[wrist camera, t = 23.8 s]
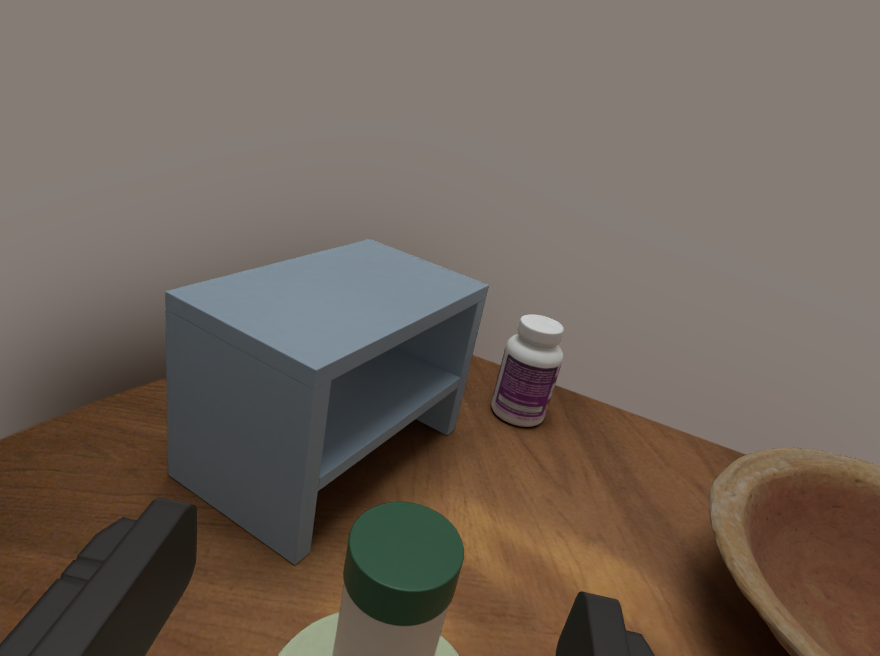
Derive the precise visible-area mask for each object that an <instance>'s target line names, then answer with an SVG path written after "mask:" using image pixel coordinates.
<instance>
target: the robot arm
mask: <svg viewBox="0 0 880 656" xmlns="http://www.w3.org/2000/svg"><path fill="white" fill-rule="evenodd" d="M196 550H197V509H196V506H195V505H192V504H188V503H184V502H179V501H175V500H170V499H166V498H162V497H158V498H156V499H155V500H153V501H152V502H151V504H150V505H149V506H148V507H147V508H146V510H145V511H144V512H143V513H142V515H141V516H140V517H139V518H138V520H133V519H128V518H124V517H123V518H121V519H119V520H118V521H116V522H115V523H113V524H111V525H110V526H108V527H107V528H105V529H103V530H102V531H100V532H99V533H97V534H96V535H95V536H94V537H93V538H92V540H91V541H90V542H89V543H88V544H87V545H86V546H85V548H84V549H83V550H82V551H81V552H80V553H79V554H78V556H77V559H76V560H73V561H72V562H71V564H70V565H69V566H68V567H67V568H66V569H65V571H64V572H63V573H62V575H61V577H60V579H57V580H56V581H55V582H54V583H53V584H52V585H51V587H50V588H49V589H48V590H47V591H46V592H45V593H44V595H43V596H42V597H41V598H40V599H39V600H38V601H37V603H36V604H35V605H34V606H33V607H32V608H31V609H30V611H29V612H28V613H27V614H26V615H25V616H24V618H23V619H22V620H21V621H20V622H19V623H18V624H17V626H16V627H15V628H14V629H13V630H12V631H11V632H10V634H9V635H8V636H7V637H6V638H5V639H4V640H3V642H2V643H1V644H0V656H145V655H146V653H147V652H148V650H149V648H150V647H151V645H152V644H153V642H154V640H155V639H156V637H157V635H158V634H159V632H160V630H161V629H162V627H163V626H164V624H165V622H166V621H167V619H168V617H169V616H170V614H171V613H172V611H173V609H174V608H175V606H176V604H177V603H178V601H179V599H180V598H181V596H182V595H183V593H184V591H185V590H186V588H187V586H188V584H189V582H190V579H191V577H192V574H193V571H194V567H195V563H196ZM556 656H655V655H654V654H653V652H652V650H651V649H650V647H649V645H648V644H647V642H646V641H645V639H644V637H643V636H642V634H639V633H635V632H630V631H626V629H625V624H624V619H623V614H622V609H621V606H620V603H619V601H618V600H617V599H613V598H608V597H604V596H599V595H595V594H591V593H586V592H582V591H581V592H579V593H578V595H577V597H576V599H575V602H574V604H573V606H572V609H571V611H570V614H569V616H568V619H567V621H566V623H565V626H564V628H563V631H562V633H561V635H560V638H559V641H558V645H557V649H556Z"/></svg>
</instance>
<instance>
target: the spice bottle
mask: <svg viewBox="0 0 880 656" xmlns="http://www.w3.org/2000/svg"><path fill="white" fill-rule="evenodd" d="M463 559H464V547H463V543H462V540H461V537H460V535H459V533H458V532H457V530H456V528H455V527H454V526H453V525H452V524H451V523H450V522H449V521H448V520H447V519H446V518H445V517H444V516H442V515H441V514H439V513H438V512H436V511H434V510H432V509H430V508H428V507H425V506H422V505H419V504H415V503H409V502H390V503H384V504H381V505H377V506H375V507H373V508H371V509H369V510H367V511H366V512H364V513H363V514H362V515H361V516H360V517H359V518H358V519H357V520H356V522H355V523H354V524H353V526H352V528H351V531H350V534H349V540H348V547H347V553H346V559H345V565H344V586H343V593H342V599H341V605H340V611H339V617H338V624H337V630H336V636H335V642H334V648H333V655H332V656H435V652H436V649H437V645H438V641H439V638H440V634H441V630H442V627H443V623H444V620H445V616H446V612H447V609H448V605H449V604H450V602H451V600H452V598H453V596H454V592H455V589H456V585H457V581H458V578H459V574H460V570H461V567H462V563H463Z"/></svg>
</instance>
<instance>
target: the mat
mask: <svg viewBox="0 0 880 656" xmlns="http://www.w3.org/2000/svg"><path fill="white" fill-rule="evenodd" d="M338 617H339V612H338V613H334V614H332V615H329V616H327V617H324V618H322V619H320V620H318V621H316V622H314V623H312V624H311V625H309V626H308V627H306V628H305V629H303V630H302V631H301V632H299V633H298V634H297V635H296V636H295V637H294V638H293V639H291V640H290V641H289V643H288V644H287V645H286V646H285V647H284V648H283V649H282V650H281V652H280V653H279V655H278V656H332V655H333V648H334V642H335V636H336V630H337V624H338ZM435 656H459V654H458V653H457V652H456V651H455V650H454V648H453V647H452V646H451V645H450V644H449V643H448V642H447V641H446V640H445V639H444V638H443V637H442V636H441V635H440V638H439V641H438V645H437V649H436V652H435Z"/></svg>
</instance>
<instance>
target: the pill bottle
mask: <svg viewBox="0 0 880 656" xmlns="http://www.w3.org/2000/svg"><path fill="white" fill-rule="evenodd" d="M563 331H564V329H563V326H562V325H561V324H560V323H558V322H557V321H555V320H553V319H551V318H548V317H544V316H541V315H533V314H531V315H525V316H523V317H522V318H521V319H520V323H519V326H518V334H516V335H514V336H512V337H511V338H510V339H509V340H508V342H507V345H506V347H505V351H504V355H503V359H502V362H501V366H500V370H499V374H498V378H497V382H496V386H495V390H494V394H493V398H492V404H491V406H492V409H493V411H494V413H495V414H496V415H497V416H498V417H500V418H501V419H502V420H504V421H506V422H508V423H510V424H513V425H517V426H522V427H532V426H536V425H538V424H540V423H541V422H542V421H543V420H544V418H545V415H546V412H547V409H548V405H549V402H550V399H551V396H552V393H553V390H554V387H555V383H556V380H557V376H558V374H559V370H560V367H561V364H562V360H563V353H562V350H561V349H560V347H559V346H558V344H559V343H560V342H561V339H562V335H563Z"/></svg>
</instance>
